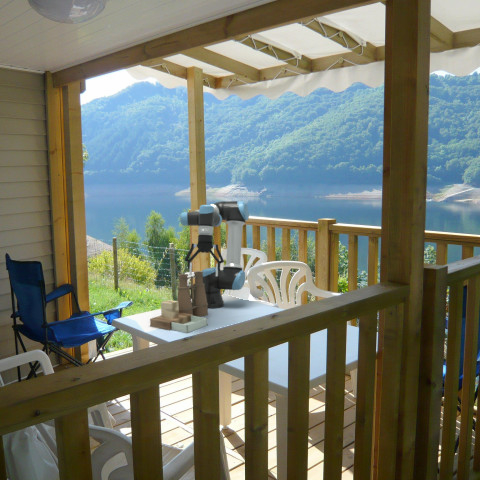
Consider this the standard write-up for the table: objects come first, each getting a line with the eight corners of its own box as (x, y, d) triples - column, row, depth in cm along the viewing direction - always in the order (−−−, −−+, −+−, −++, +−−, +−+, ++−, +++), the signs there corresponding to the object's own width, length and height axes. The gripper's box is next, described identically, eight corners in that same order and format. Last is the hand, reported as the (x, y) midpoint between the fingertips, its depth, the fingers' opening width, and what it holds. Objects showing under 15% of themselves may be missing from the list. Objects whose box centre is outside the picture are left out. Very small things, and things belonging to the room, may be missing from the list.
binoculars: (182, 322, 274) (181, 277, 272) (172, 318, 282) (170, 274, 279) (212, 314, 288) (210, 271, 285) (201, 311, 296) (199, 269, 293)
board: (173, 318, 281) (173, 311, 281) (192, 321, 273) (192, 314, 273) (150, 326, 266) (150, 318, 266) (169, 330, 258) (169, 322, 258)
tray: (191, 322, 272) (191, 315, 272) (207, 325, 266) (207, 318, 265) (171, 329, 259) (171, 322, 259) (187, 332, 253) (187, 325, 252)
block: (169, 314, 274) (168, 299, 273) (178, 316, 270) (178, 301, 269) (161, 316, 269) (160, 302, 269) (171, 318, 265) (170, 303, 265)
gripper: (180, 233, 259) (178, 274, 257) (228, 234, 257) (227, 276, 256) (182, 234, 266) (180, 274, 265) (229, 236, 265) (228, 276, 263)
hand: (203, 275), depth 260 cm, fingers open, 13 cm apart
